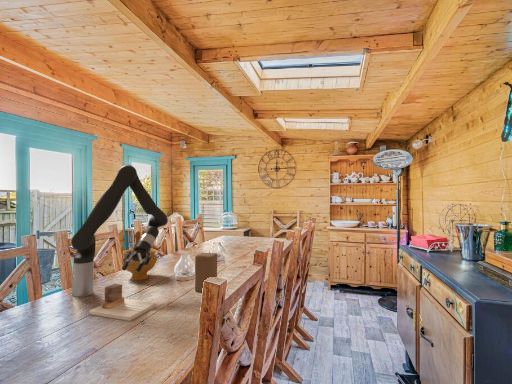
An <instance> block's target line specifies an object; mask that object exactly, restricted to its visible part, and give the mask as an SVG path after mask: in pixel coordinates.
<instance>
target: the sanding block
mask: <svg viewBox="0 0 512 384" xmlns="http://www.w3.org/2000/svg"><path fill="white" fill-rule="evenodd" d="M124 299H125V297H124V296H123V284H121V283H120V284H119V283H112V284H110V285H107V286H105V287H104V301H102V302H101V305H102V308H105V309H112V308H114V307H116V306H118V305H120V304H122V303H124Z"/></svg>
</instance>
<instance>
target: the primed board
mask: <svg viewBox="0 0 512 384" xmlns="http://www.w3.org/2000/svg"><path fill="white" fill-rule="evenodd" d="M155 307H157V302H152V301H145V300H144V301H143V300H137V299H131V298H124V303H122V304H120V305H118V306H116V307H114V308H112V309H105V308H102V304H101V305H100V306H97V307H95V308H92V309H90V310H89V311H88V314H89V315H93V316H97V317H98V316H99V317H104V318H110V319H117V320H122V321H128V322H131V321H132V320H134V319H135V318H138V317H140V316H141V315H143V314H145V313H147V312H149V311H150V310H152V309H154V308H155Z"/></svg>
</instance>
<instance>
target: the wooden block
mask: <svg viewBox="0 0 512 384" xmlns="http://www.w3.org/2000/svg"><path fill="white" fill-rule="evenodd" d="M194 258H195V259H194V290H195V292H196V293H203V292H202V288H203V282H204V280H206V279H207V278H209V277H217V278H218V254H217V253H216V252H201V253H198V254H196V255H195V257H194Z"/></svg>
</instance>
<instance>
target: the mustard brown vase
mask: <svg viewBox="0 0 512 384" xmlns="http://www.w3.org/2000/svg"><path fill="white" fill-rule="evenodd" d="M145 231H146V230H143V229H142V233H141V231H140V230H138V231H136V232H135V234H134V239H135V243H134V245H133V246H132V248H131V249H130V248H129V249H127V250H123V251H122V254H123V255H124V256H123V257H122V259H121V262H122V266H123V265H124V263H125V262H124V261H123V258H124V257H125V255H126V254H127V252H128V251H130V252H134V250H135V247H136V245H137V243H138V242H139V240H140V238H141V237H142V236H143V234H144V232H145ZM141 235H142V236H141ZM156 252H157V249H156V248H153V247H152V248H151V250H150V251H149V253H150V254H151V255H152V257H151V259H150V261H149V263H148V265H144V266H143V267H142V269H141V270H140V271H139V272H137V271H136V268H137V267H138V265H139V264H140V261H134V262H131V263H130V264H128V267H127V268H126V270H125V271H126V272H129V273H131V277H130V279H131V280H135V281H140V280H145V279H148V278H149V275H148V272H149V271H151V270H152V269H153V268H154V267H155V265H156V263H157V262H158V261H157V260H158V256H157V255H156ZM145 258H146V257H145ZM145 258H144V260H145ZM131 259H132V258H131ZM129 261H130V260H129ZM129 261H128V262H129ZM146 262H147V261H146Z"/></svg>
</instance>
